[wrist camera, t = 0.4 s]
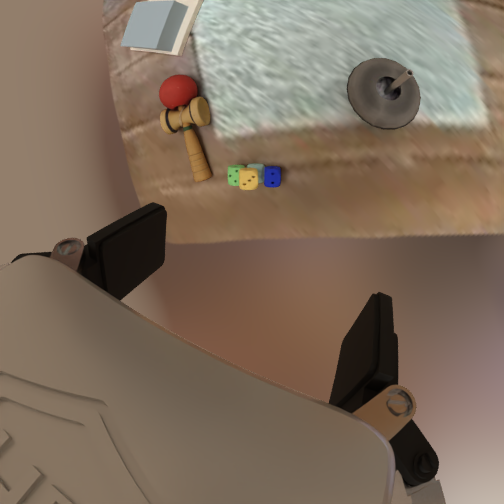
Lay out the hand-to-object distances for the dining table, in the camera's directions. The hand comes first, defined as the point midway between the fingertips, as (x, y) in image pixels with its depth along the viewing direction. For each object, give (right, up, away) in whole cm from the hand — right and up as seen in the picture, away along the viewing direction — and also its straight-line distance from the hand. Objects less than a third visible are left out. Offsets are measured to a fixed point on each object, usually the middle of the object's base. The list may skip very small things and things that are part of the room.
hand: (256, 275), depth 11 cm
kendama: (-9, +21, +29) cm, 38 cm away
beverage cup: (+16, +21, +18) cm, 32 cm away
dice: (+1, +13, +29) cm, 32 cm away
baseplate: (-14, +44, +19) cm, 49 cm away
